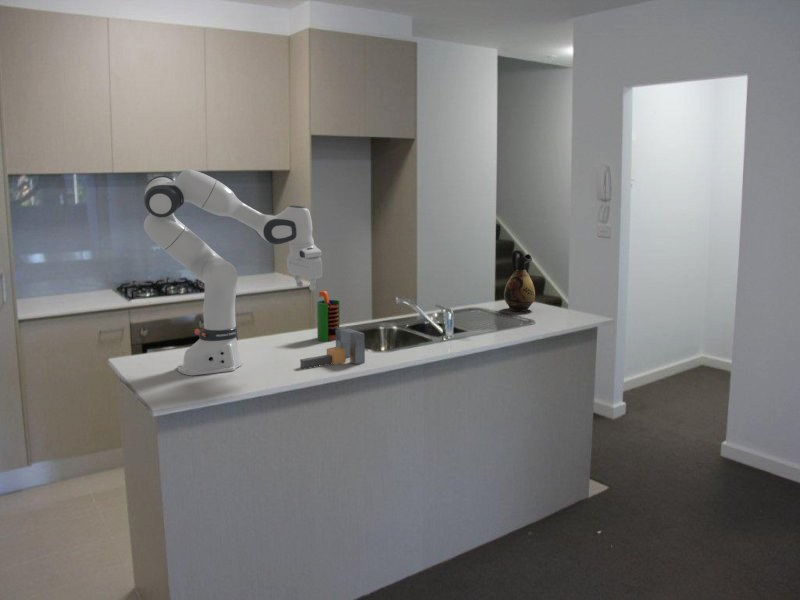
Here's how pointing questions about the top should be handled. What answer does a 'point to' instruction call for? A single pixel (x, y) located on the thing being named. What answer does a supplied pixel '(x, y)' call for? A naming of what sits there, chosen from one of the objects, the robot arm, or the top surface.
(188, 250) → the robot arm
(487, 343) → the top surface
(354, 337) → the grey u-shaped block
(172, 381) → the top surface
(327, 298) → the motor
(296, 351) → the top surface
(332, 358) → the plug
